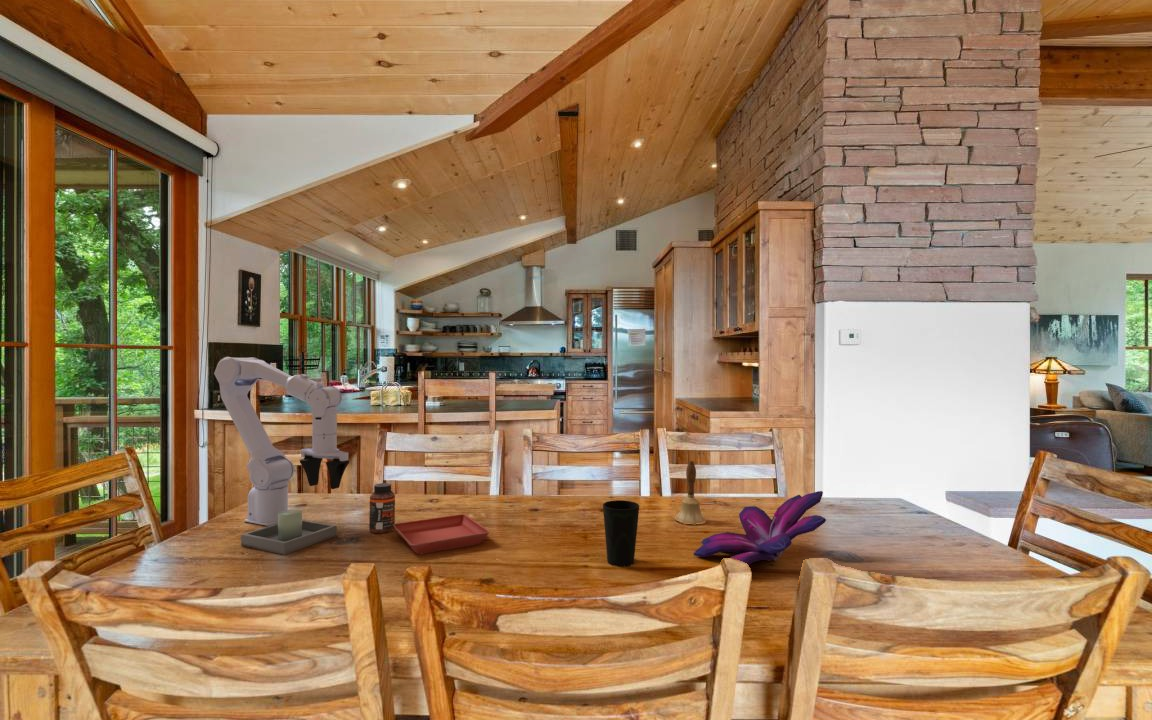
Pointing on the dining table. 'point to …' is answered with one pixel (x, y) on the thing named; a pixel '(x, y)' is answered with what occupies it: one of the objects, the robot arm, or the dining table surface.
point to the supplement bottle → (382, 509)
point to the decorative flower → (766, 531)
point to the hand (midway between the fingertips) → (324, 486)
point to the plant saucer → (441, 533)
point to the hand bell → (690, 500)
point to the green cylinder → (289, 525)
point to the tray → (269, 540)
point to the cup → (620, 531)
